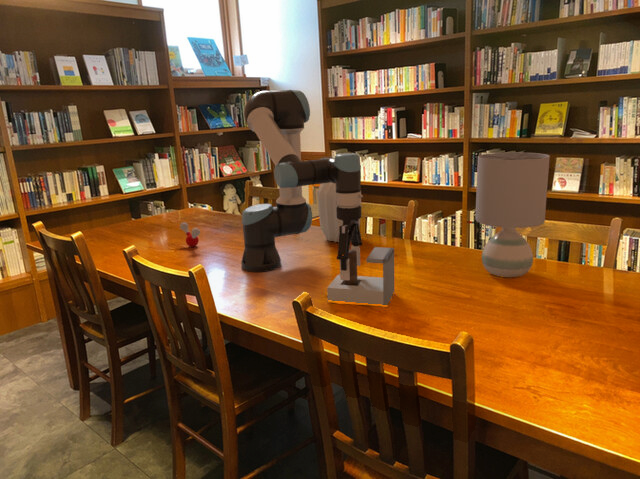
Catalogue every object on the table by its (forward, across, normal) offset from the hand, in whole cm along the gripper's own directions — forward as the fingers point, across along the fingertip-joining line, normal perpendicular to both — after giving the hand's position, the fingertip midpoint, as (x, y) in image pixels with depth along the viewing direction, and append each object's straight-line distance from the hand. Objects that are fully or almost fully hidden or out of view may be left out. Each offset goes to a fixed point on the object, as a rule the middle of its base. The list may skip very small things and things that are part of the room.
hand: (350, 272), depth 155 cm
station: (+8, 0, -3) cm, 9 cm away
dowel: (+8, 0, 0) cm, 8 cm away
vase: (+8, +66, +22) cm, 70 cm away
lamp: (+8, +31, -47) cm, 57 cm away
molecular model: (+8, +44, +85) cm, 96 cm away
